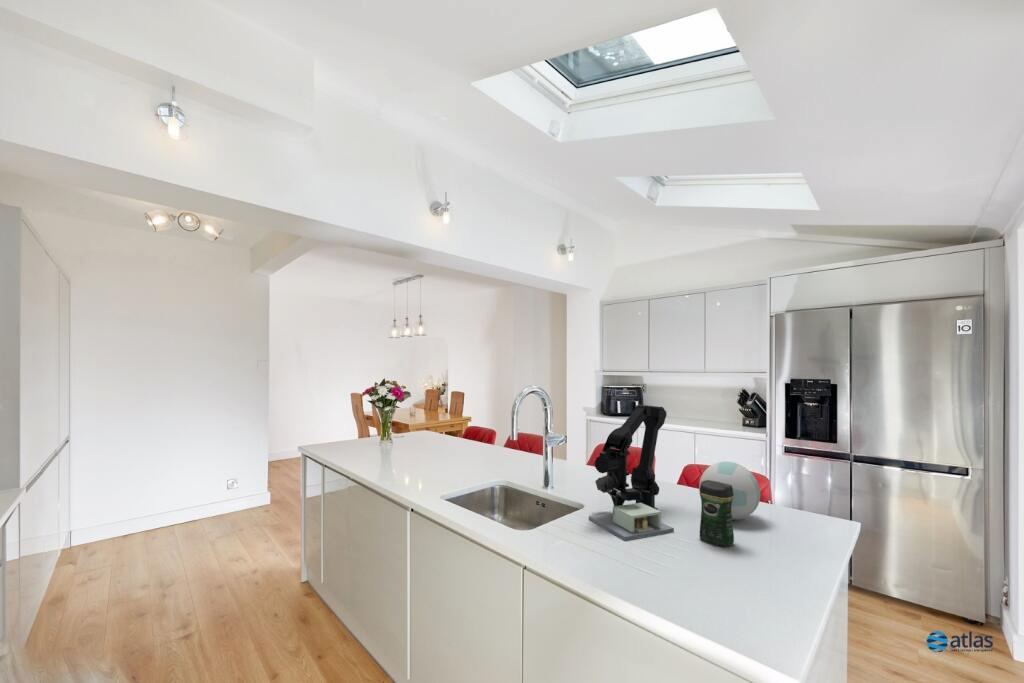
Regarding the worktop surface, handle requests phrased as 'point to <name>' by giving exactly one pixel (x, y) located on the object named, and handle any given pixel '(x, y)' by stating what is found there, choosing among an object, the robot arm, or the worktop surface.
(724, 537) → the coffee jar
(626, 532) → the board
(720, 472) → the volleyball
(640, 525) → the block
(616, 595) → the worktop surface
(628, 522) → the housing
